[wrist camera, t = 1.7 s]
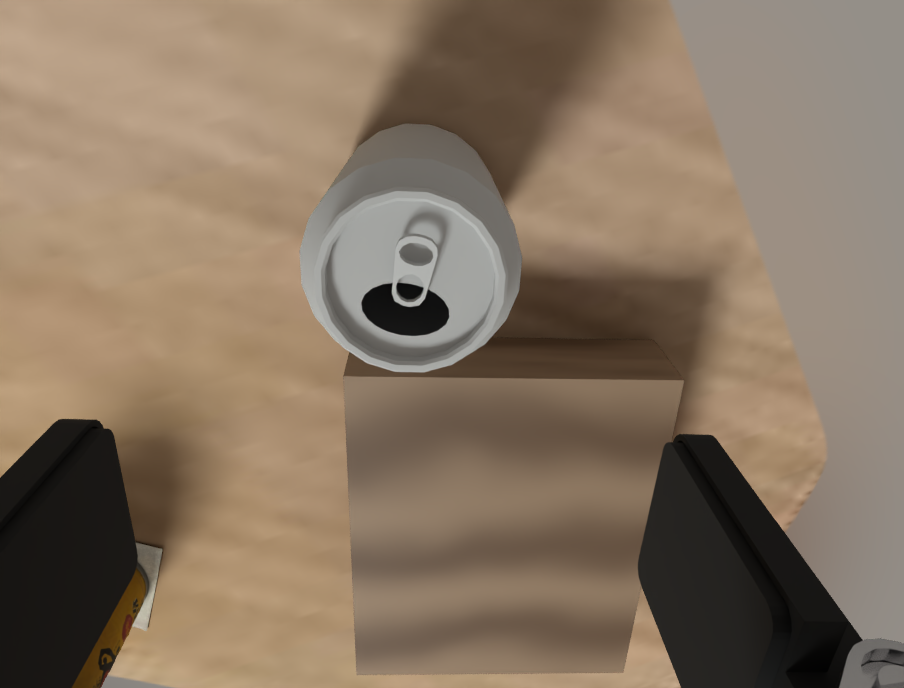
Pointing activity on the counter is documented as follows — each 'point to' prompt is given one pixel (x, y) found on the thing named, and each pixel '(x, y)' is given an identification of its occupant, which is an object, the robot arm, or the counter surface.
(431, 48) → the counter surface
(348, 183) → the can
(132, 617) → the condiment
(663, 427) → the chopping block
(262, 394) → the counter surface
